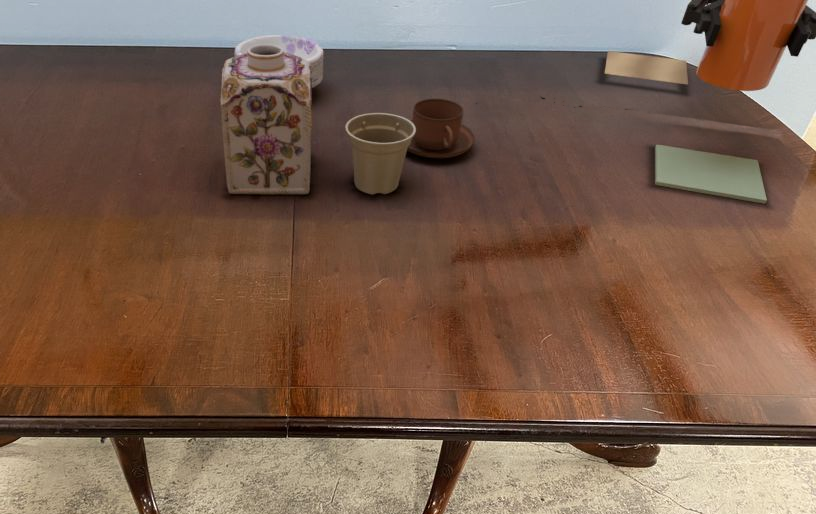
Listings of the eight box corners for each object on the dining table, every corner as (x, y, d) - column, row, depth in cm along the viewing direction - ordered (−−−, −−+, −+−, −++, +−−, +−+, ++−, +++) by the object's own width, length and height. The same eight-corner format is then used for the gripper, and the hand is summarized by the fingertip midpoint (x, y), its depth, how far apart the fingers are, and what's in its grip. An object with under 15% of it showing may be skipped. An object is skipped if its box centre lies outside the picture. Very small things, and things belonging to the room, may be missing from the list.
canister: (764, 70, 94) (807, -23, 86) (772, 95, 88) (818, -3, 80) (694, 62, 96) (730, -30, 88) (697, 85, 90) (735, -11, 82)
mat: (756, 163, 99) (757, 160, 99) (765, 204, 91) (767, 200, 90) (654, 147, 103) (656, 144, 103) (654, 185, 95) (656, 181, 94)
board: (683, 68, 126) (686, 60, 125) (685, 92, 118) (688, 84, 117) (605, 58, 130) (607, 50, 129) (602, 81, 122) (604, 73, 121)
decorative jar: (226, 196, 93) (214, 66, 81) (233, 155, 101) (224, 33, 89) (312, 196, 93) (313, 66, 81) (312, 155, 101) (313, 33, 89)
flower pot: (353, 163, 100) (356, 108, 94) (415, 174, 97) (422, 117, 91) (334, 195, 93) (336, 137, 87) (400, 206, 91) (407, 148, 85)
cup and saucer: (489, 152, 102) (496, 114, 98) (427, 173, 97) (433, 134, 93) (437, 123, 110) (443, 86, 105) (378, 141, 105) (381, 103, 101)
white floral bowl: (331, 80, 123) (332, 36, 117) (311, 116, 112) (311, 68, 106) (252, 73, 125) (249, 29, 120) (225, 106, 114) (221, 60, 109)
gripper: (811, 25, 99) (839, 82, 84) (654, 9, 105) (653, 58, 90) (838, -30, 94) (873, 19, 79) (672, -44, 100) (673, -1, 85)
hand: (756, 40), depth 84 cm, fingers closed on canister, 9 cm apart
